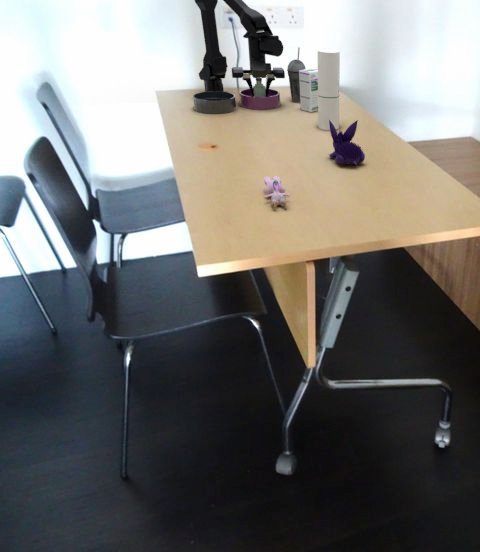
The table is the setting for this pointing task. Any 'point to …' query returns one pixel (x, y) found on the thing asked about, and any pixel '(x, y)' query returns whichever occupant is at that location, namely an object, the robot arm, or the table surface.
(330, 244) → the table surface
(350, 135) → the creature
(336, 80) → the cylindrical container
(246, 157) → the table surface
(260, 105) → the plum bowl
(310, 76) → the syrup box
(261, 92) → the bottle
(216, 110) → the charcoal bowl
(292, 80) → the beverage cup
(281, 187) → the rabbit figure
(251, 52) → the robot arm
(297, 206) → the table surface
